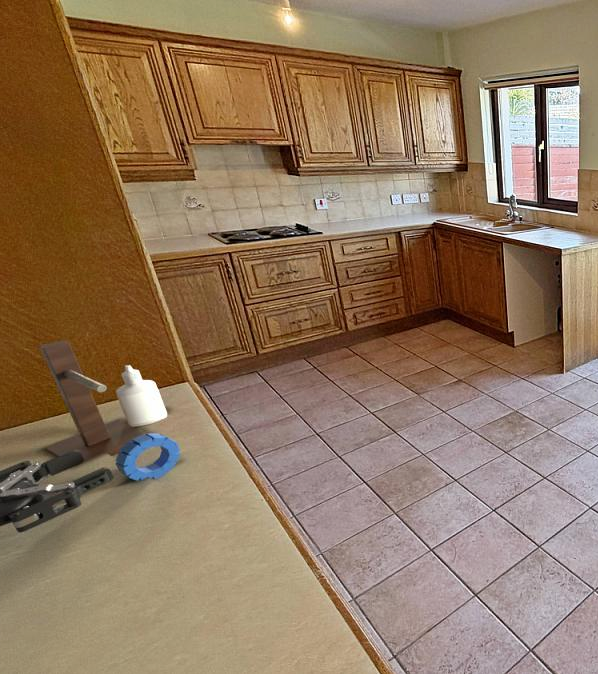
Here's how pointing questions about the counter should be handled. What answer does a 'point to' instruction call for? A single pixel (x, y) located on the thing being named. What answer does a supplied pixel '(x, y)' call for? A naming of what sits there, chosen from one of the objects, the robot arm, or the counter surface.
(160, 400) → the eye dropper bottle
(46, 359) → the hook stand
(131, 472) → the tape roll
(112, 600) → the counter surface
